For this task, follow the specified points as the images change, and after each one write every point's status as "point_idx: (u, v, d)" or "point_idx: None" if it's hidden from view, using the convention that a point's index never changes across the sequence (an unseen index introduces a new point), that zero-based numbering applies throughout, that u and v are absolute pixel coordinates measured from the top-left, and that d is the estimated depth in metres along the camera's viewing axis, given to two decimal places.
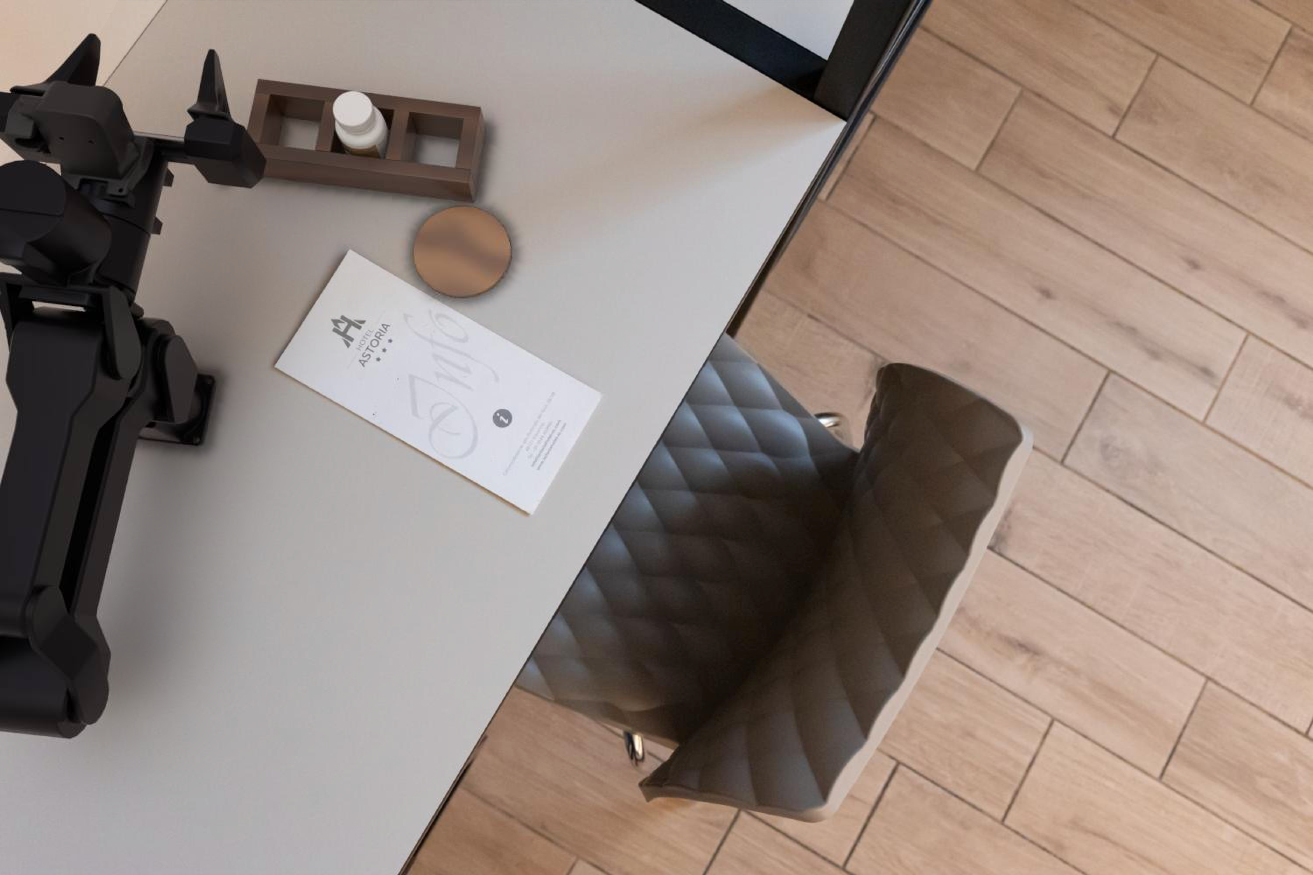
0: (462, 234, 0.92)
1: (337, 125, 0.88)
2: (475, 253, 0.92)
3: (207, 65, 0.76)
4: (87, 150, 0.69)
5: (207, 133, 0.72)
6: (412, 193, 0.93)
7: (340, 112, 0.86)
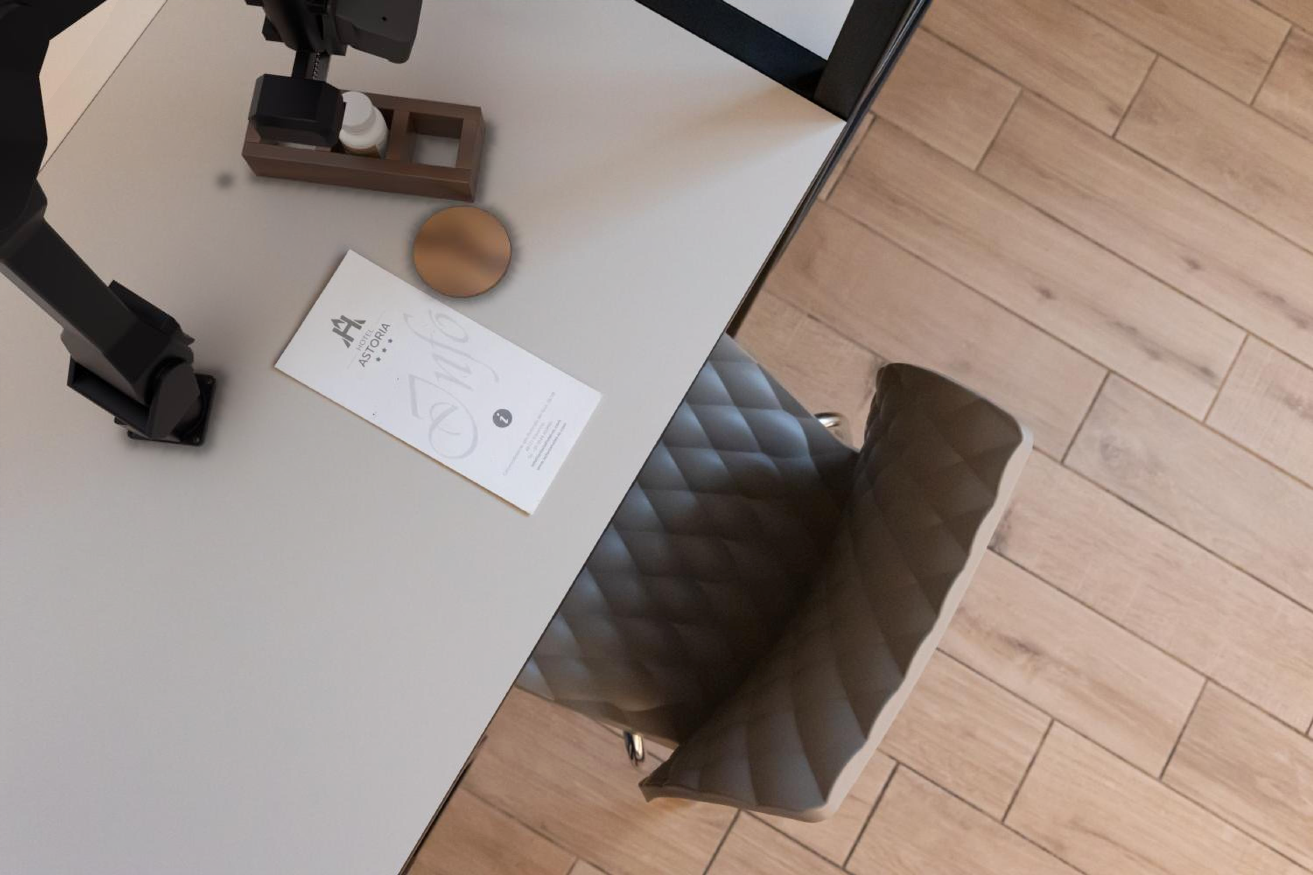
0: (462, 234, 0.92)
1: None
2: (475, 253, 0.92)
3: None
4: (374, 8, 0.71)
5: (338, 113, 0.73)
6: (412, 193, 0.93)
7: None
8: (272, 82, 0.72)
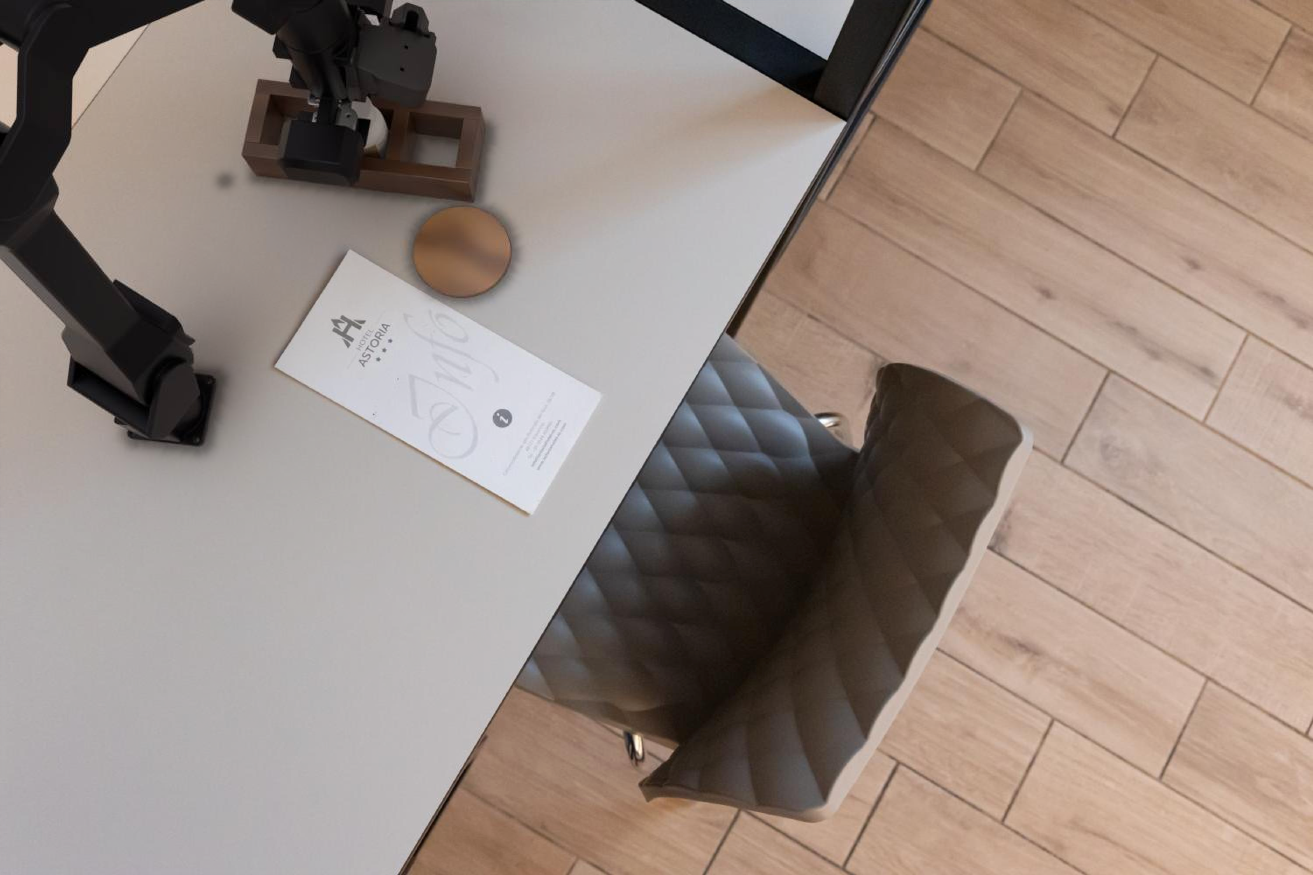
0: (462, 234, 0.92)
1: None
2: (475, 253, 0.92)
3: None
4: (393, 59, 0.77)
5: (358, 155, 0.80)
6: (412, 193, 0.93)
7: None
8: (298, 127, 0.78)
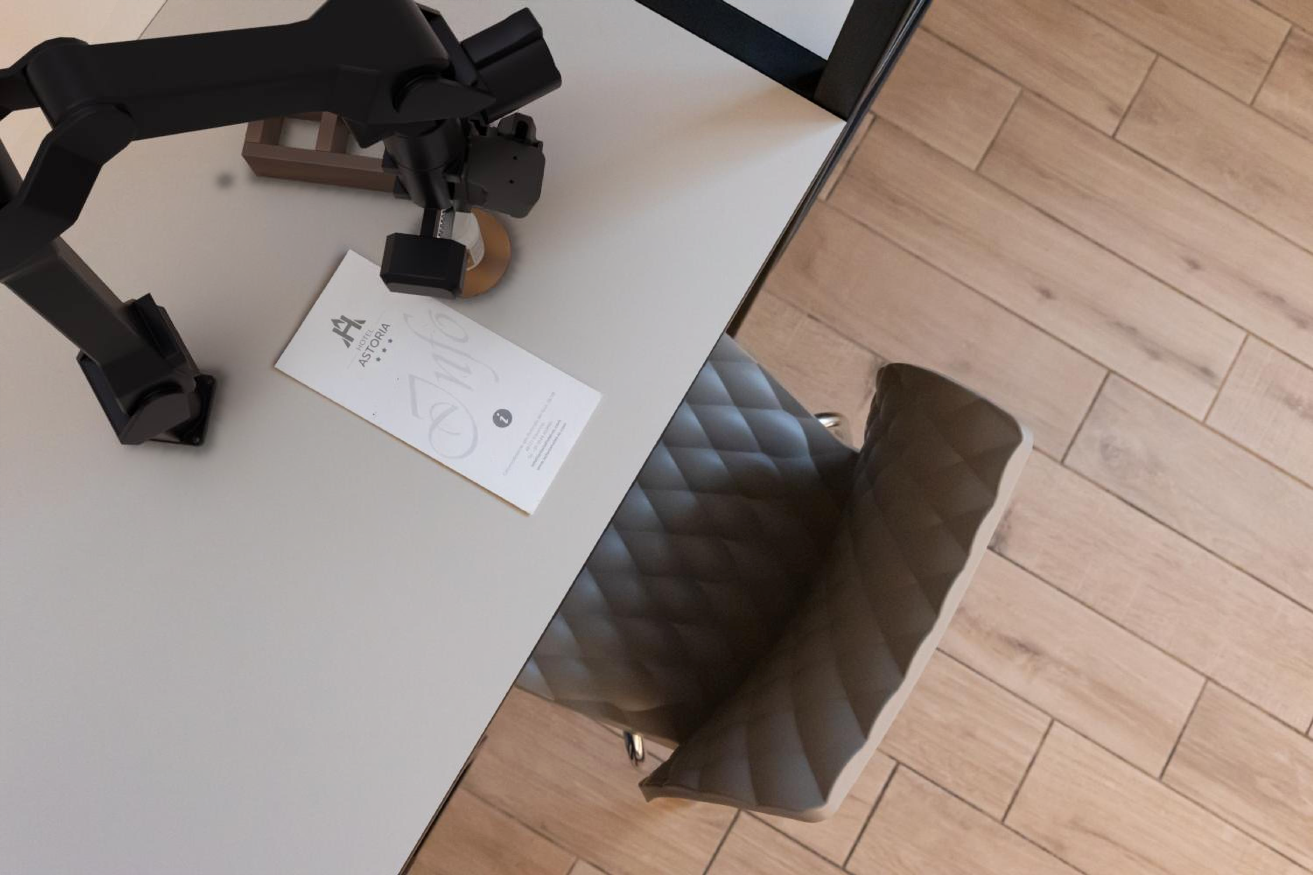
0: None
1: None
2: None
3: None
4: (502, 172, 0.75)
5: (463, 267, 0.77)
6: None
7: None
8: (403, 241, 0.75)
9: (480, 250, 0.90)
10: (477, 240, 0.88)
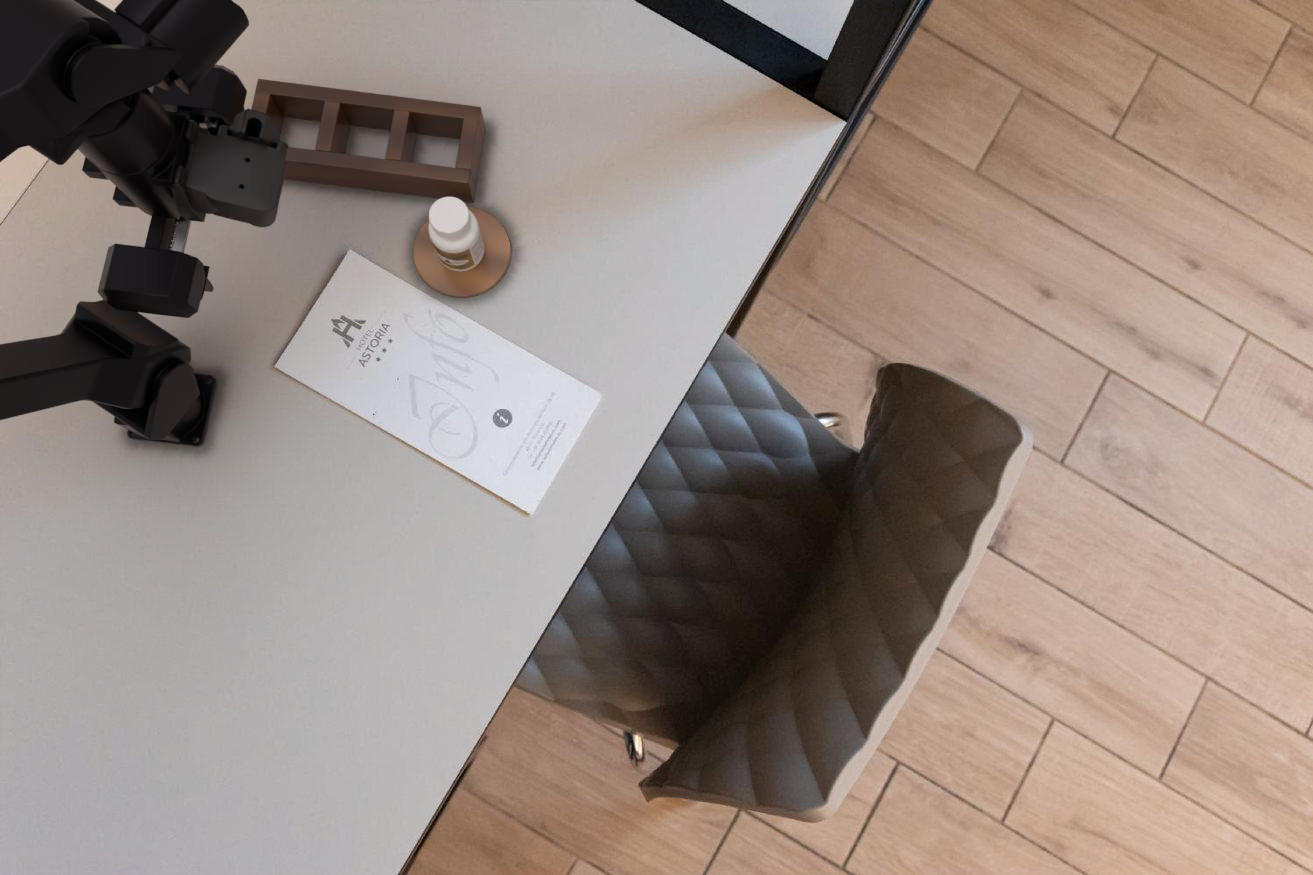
0: None
1: (431, 230, 0.86)
2: None
3: (209, 284, 0.76)
4: (230, 175, 0.67)
5: (196, 282, 0.69)
6: (412, 193, 0.93)
7: (436, 219, 0.84)
8: (123, 253, 0.67)
9: (480, 250, 0.90)
10: (477, 240, 0.88)
